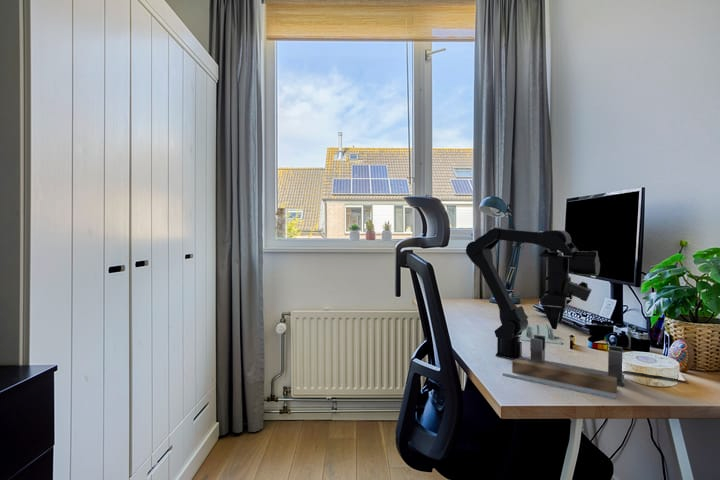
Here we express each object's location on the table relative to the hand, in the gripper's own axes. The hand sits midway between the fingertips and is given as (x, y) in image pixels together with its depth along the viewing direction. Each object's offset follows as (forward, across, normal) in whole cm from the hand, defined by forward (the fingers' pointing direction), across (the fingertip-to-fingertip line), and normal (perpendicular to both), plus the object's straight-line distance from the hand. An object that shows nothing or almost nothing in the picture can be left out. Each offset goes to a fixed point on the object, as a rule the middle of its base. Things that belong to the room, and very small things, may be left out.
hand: (556, 325), depth 112 cm
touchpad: (+13, +9, -22) cm, 27 cm away
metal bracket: (+13, +30, +11) cm, 35 cm away
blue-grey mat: (+12, -13, -2) cm, 18 cm away
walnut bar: (+11, -13, -3) cm, 18 cm away
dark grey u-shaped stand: (+12, -3, -5) cm, 13 cm away
